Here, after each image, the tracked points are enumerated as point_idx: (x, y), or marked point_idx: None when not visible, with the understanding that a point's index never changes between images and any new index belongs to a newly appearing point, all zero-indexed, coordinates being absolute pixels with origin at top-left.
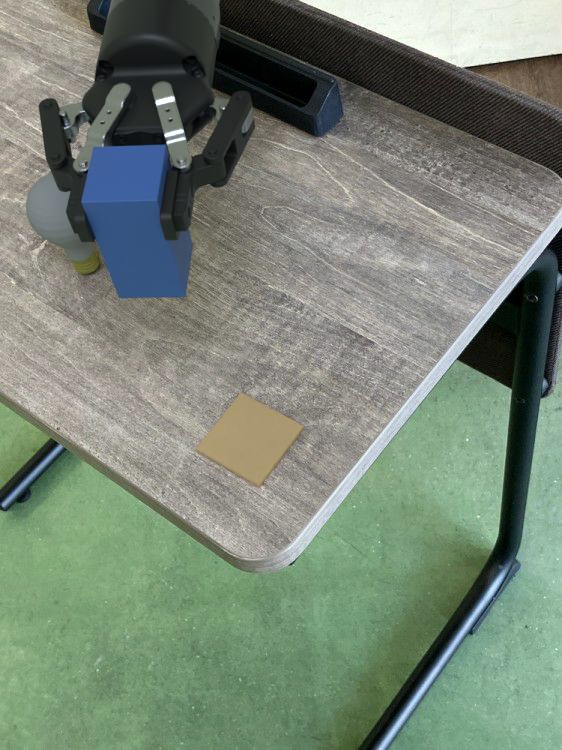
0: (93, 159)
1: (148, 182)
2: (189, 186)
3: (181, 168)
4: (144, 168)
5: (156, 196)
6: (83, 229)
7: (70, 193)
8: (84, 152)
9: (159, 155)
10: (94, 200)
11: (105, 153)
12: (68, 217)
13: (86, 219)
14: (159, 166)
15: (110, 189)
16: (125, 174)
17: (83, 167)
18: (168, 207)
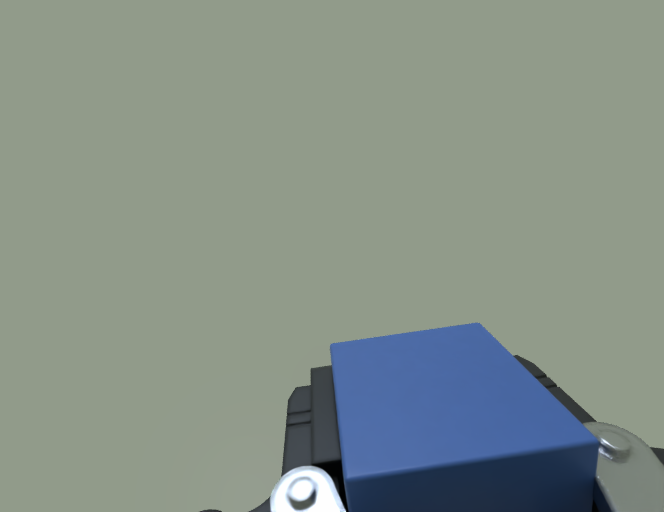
0: (548, 399)
1: (359, 368)
2: (284, 449)
3: (301, 467)
4: (382, 394)
5: (332, 347)
6: None
7: (567, 396)
8: (660, 486)
9: (353, 432)
10: (453, 326)
11: (532, 423)
12: (516, 356)
13: None
14: (345, 405)
15: (437, 347)
16: (424, 376)
17: (595, 435)
18: (318, 377)
